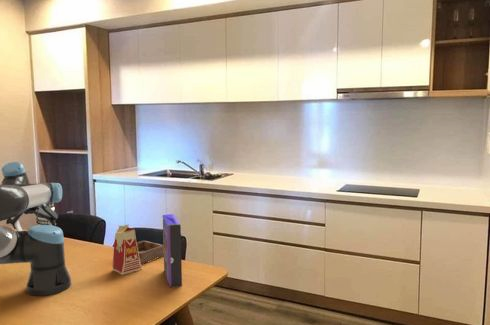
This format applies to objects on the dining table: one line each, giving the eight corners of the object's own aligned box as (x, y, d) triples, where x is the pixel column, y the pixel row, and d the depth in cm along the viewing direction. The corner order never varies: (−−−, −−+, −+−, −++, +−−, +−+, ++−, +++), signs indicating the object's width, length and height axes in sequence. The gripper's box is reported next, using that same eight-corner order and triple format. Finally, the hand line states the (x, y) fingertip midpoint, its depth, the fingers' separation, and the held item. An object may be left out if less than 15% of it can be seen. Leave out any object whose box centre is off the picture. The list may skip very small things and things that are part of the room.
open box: (164, 255, 187) (164, 245, 186) (141, 264, 175) (141, 253, 175) (144, 250, 194) (143, 240, 194) (121, 258, 183) (121, 248, 182)
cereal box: (164, 270, 168) (162, 214, 166) (175, 269, 170) (174, 213, 167) (169, 287, 152) (167, 225, 149) (181, 285, 153) (180, 224, 151)
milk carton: (142, 269, 170) (140, 223, 168) (122, 275, 164) (120, 227, 161) (130, 264, 176) (128, 219, 174) (111, 269, 170) (109, 223, 168)
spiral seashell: (37, 246, 200) (34, 197, 198) (58, 244, 204) (55, 196, 202) (37, 252, 192) (33, 201, 190) (58, 249, 196) (55, 199, 193)
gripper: (57, 187, 168) (69, 223, 181) (-7, 191, 164) (9, 227, 177) (53, 199, 162) (65, 235, 175) (-14, 204, 158) (4, 240, 171)
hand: (37, 231), depth 176 cm, fingers open, 13 cm apart
